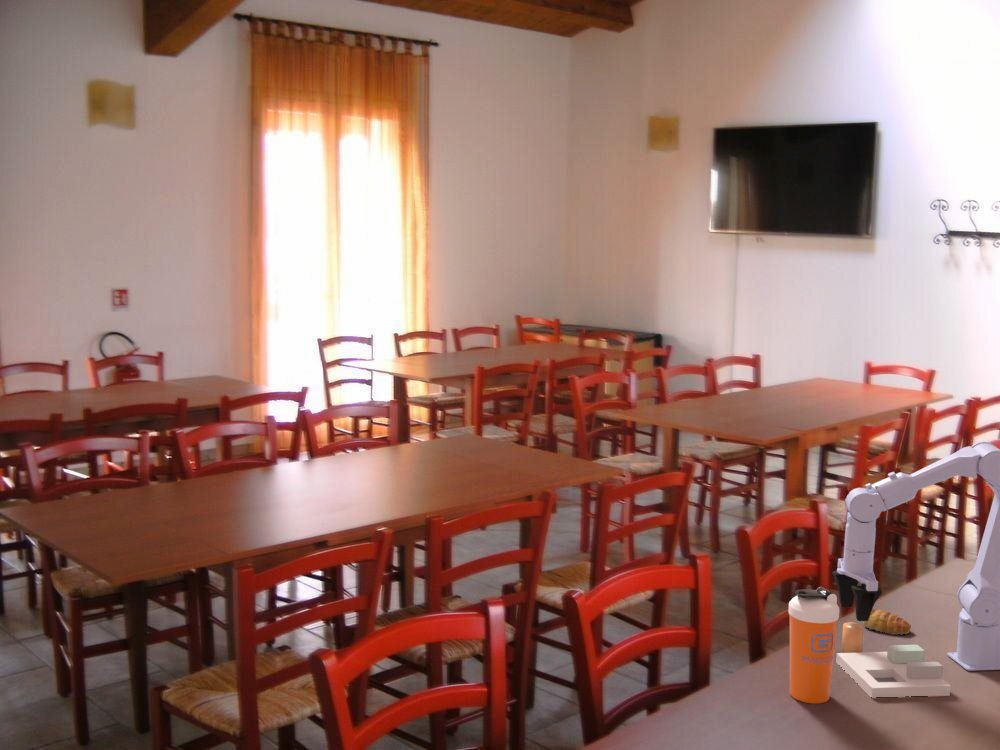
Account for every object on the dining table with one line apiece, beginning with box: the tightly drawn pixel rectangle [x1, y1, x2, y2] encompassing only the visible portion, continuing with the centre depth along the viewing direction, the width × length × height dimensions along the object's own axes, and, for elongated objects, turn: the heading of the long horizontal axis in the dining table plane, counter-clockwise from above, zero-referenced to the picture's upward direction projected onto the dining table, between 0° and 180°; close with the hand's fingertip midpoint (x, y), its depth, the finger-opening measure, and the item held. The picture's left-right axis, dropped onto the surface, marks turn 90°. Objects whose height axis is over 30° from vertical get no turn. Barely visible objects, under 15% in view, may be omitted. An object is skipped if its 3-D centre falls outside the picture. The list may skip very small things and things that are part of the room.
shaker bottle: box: [787, 586, 840, 705], centre depth 190 cm, size 9×9×20 cm
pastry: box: [862, 608, 912, 635], centre depth 224 cm, size 9×7×4 cm
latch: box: [886, 644, 926, 664], centre depth 202 cm, size 6×3×2 cm, turn 95°
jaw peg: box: [841, 621, 865, 653], centre depth 210 cm, size 4×4×6 cm
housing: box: [835, 651, 951, 699], centre depth 198 cm, size 15×16×4 cm
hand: (854, 613), depth 209 cm, fingers open, 7 cm apart
